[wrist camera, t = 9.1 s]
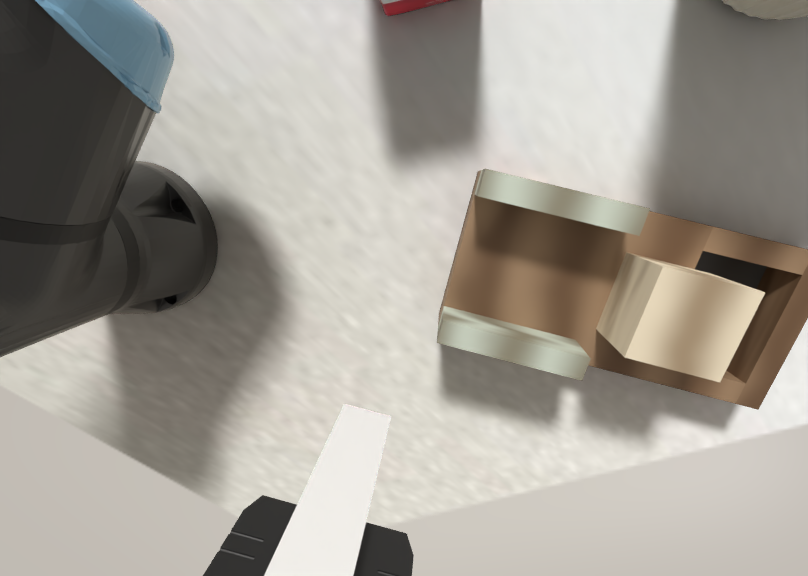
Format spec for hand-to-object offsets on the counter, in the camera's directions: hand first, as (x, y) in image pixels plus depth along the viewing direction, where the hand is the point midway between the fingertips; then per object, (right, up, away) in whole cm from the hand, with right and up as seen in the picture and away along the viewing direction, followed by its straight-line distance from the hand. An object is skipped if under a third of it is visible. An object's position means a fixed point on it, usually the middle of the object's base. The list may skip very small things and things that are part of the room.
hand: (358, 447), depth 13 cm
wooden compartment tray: (+21, +5, +26) cm, 33 cm away
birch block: (+22, +4, +22) cm, 31 cm away
